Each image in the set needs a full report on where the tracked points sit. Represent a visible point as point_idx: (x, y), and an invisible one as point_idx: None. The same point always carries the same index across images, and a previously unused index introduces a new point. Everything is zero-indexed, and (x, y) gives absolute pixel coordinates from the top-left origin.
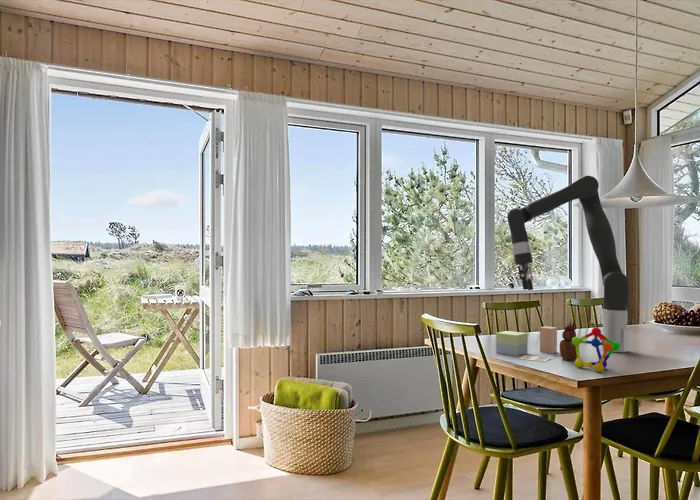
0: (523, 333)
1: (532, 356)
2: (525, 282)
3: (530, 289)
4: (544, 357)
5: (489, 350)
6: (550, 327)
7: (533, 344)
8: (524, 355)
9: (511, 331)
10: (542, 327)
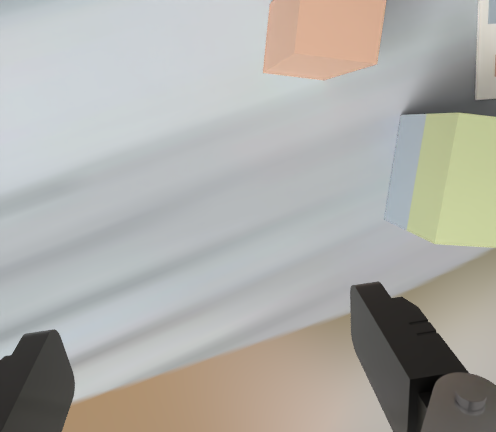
0: (483, 128)
1: (487, 57)
2: (458, 366)
3: (64, 358)
4: (480, 1)
5: (438, 272)
6: (332, 1)
7: (118, 189)
8: (483, 96)
9: (445, 214)
10: (370, 49)
